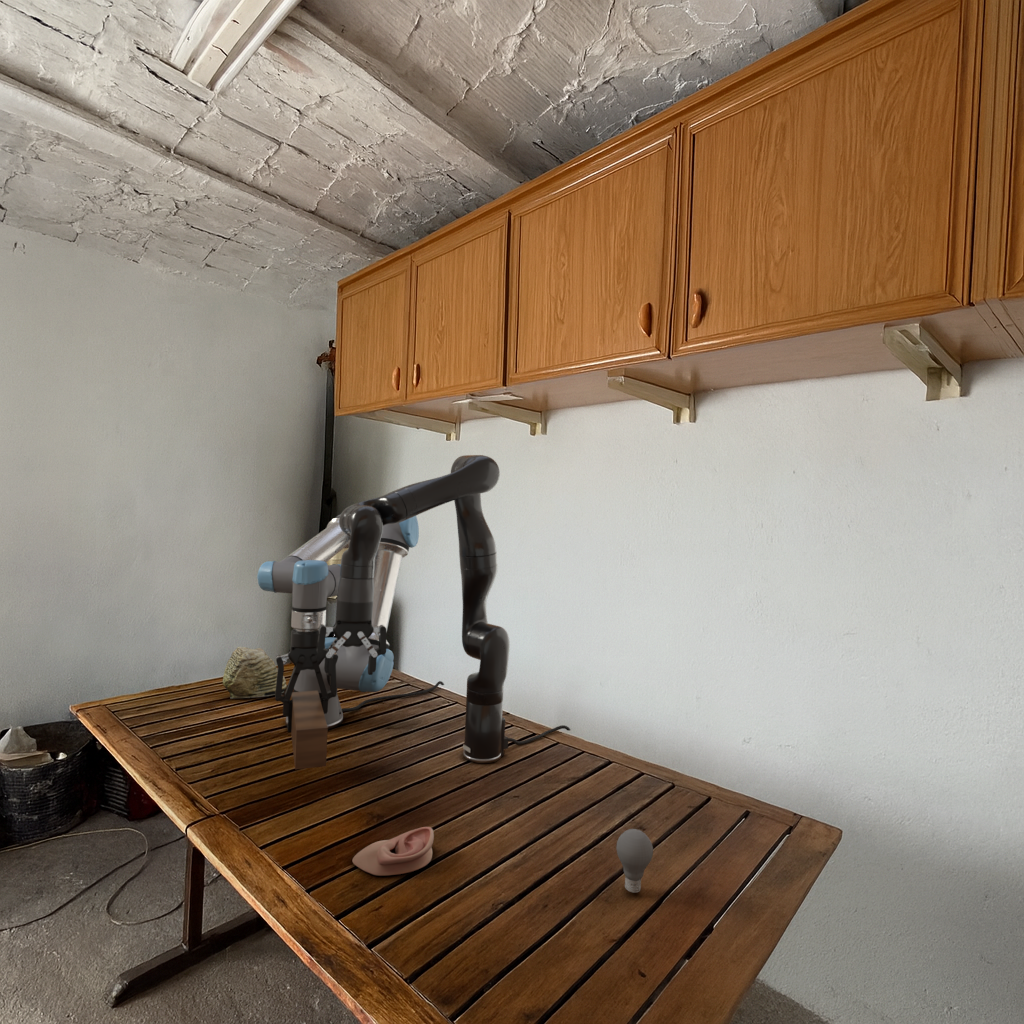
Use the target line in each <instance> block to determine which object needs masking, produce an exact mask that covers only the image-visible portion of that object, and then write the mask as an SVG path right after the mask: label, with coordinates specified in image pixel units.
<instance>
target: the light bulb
mask: <svg viewBox="0 0 1024 1024" xmlns="http://www.w3.org/2000/svg"><path fill="white" fill-rule="evenodd" d="M615 849H616V854H617V857H618V859H619V861H620V863H621V865H622V867H623V873H624V874H623V875H624V876H625V878H624V888H625V890H627V891H628V892H630V893H634V894H635V893H639V892H640V891H641V889H642V887H641V886H642V879H643V877H644V875H645V871H646V868H647V867H648V866H649V864H650V863H651V861H652V859H653V855H654V847H653V843H652V841H651V838H649V836H648V835H647V834H646V833H645V832H643V831H642V830H641V829H636V828H629V829H627V830H625V831H623V832H622V833H621V834H620V835H619V837H618V839H617V841H616V847H615Z"/></svg>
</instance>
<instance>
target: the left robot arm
mask: <svg viewBox="0 0 1024 1024" xmlns="http://www.w3.org/2000/svg"><path fill="white" fill-rule="evenodd" d="M340 515H341V513H340V514H338V515H337V516H335V517H334V518H332V519H331V520H329V521H328V523H327V525H326V527H325V529H323V530H321V531H320V532H319V533H317V534H316V535H314V536H313V537H311V538H310V539H309V540H307V542H305V543H303V544H302V545H301V546H300V547H298V548H296V549H295V550H294V551H293V552H291V553H290V554H288V555H287V556H285V558H283V559H282V560H280V561H276V560H272V561H269V560H267V561H265V562H263V563H262V564H261V565H260V566H259V568H258V571H257V577H256V578H257V584H258V587H259V588H260V589H261V590H262V591H265V592H269V593H270V592H271V593H274V594H277V593H280V594H292V603H291V605H292V606H291V620H290V621H291V622H290V626H291V628H292V629H291V631H290V646H289V650H288V652H287V653H285V654H282V655H281V654H278V655H276V657H275V661H276V666H277V668H278V672H277V681H276V691H275V695H274V699H275V701H276V702H281V703H282V704H283V705H282V716H283V718H285V726H286V728H287V733H291V730H292V700H291V695H292V692H303V691H318V693H319V697H320V700H321V704H322V708H323V712H324V716H325V720H326V724H327V727H328V731H329V730H332V729H335V728H337V727H339V726H340V725H342V723H343V722H344V714H343V712H345V713H346V712H354V711H357V710H359V709H360V708H361V707H362V706H365V705H366V704H369V703H372V702H376V701H383V700H389V699H398V698H407V697H415V696H418V695H422V694H427V693H429V692H432V691H434V690H436V689H437V688H438V687H439V686H440V685H441V686H445V683H444V682H443V681H442V680H439V681H438V682H436V684H435V685H433V686H432V687H430V688H427V689H424V690H420V691H415V692H409V693H400V694H399V693H398V694H392V695H383V696H378V697H377V696H376V697H373V698H368V699H366V700H363V701H361V702H360V703H359V704H358V705H355V706H353V707H346V708H342V706H341V702H340V699H339V695H338V689H339V690H347V691H348V690H349V691H357V692H361V693H377V692H380V691H381V690H382V689H384V687H385V686H386V685H387V684H388V682H389V680H390V677H391V675H392V673H393V670H394V663H395V662H394V660H395V657H394V653H393V651H392V650H390V643H389V642H388V640H387V639H386V653H385V654H382V655H379V656H378V657H377V660H376V670H375V672H373V674H372V675H369V674H368V661H369V656H370V652H369V651H368V650H367V648H366V647H365V645H364V644H363V645H362V646H360V647H355V646H350V647H345V646H343V645H342V646H341V647H340V648H339V649H338V650H337V651H336V652H335V653H334V654H333V656H332V658H333V660H332V674H331V676H328V675H327V673H325V670H324V663H325V657H324V656H322V655H318V654H317V651H316V649H317V642H318V635H319V627H320V625H325V626H327V599H329V598H333V597H337V592H338V585H339V580H340V570H341V563H332V564H328V562H329V561H330V560H332V558H333V557H335V556H336V555H337V554H339V553H340V552H342V550H343V549H348V548H349V543H350V538H351V536H348V535H347V534H345V533H344V532H343V531H342V530H341V528H340V525H339V518H340ZM419 537H420V528H419V522H418V518H417V515H416V516H414V517H412V518H409V519H407V520H405V521H403V522H400V523H396V524H387V525H384V526H383V531H382V536H381V540H380V543H379V547H378V551H377V553H376V556H375V567H374V597H373V611H372V626H373V627H374V626H380V625H384V626H385V628H386V633H387V632H388V627H389V622H390V618H391V612H392V608H393V602H394V598H395V594H396V593H395V592H396V588H397V583H398V579H399V573H400V570H401V564H402V559H404V558H405V557H407V556H408V555H409V550H410V548H412V549H413V548H415V547H416V546H417V544H418V542H419ZM336 638H337V637H334V636H333V637H329V636H328V637H325V644H324V649H326V650H327V649H328V648H329V647H330V646H331V644H332V642H333V641H334V640H335V639H336ZM368 641H369V642H370V644H371V645H372V646H373V648H374V649H377V648H379V636H377V635H376V633H375V632H373V633H372V634H371V636H370V637H369V638H368ZM288 660H290V661H291V663H292V664H293V665H294V666H293V669H292V672H291V675H290V678H289V679H288V683H287V687H286V690H285V691H284V693H282V683H283V676H284V672H285V665H287V663H288Z"/></svg>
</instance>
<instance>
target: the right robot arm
mask: <svg viewBox="0 0 1024 1024" xmlns="http://www.w3.org/2000/svg"><path fill="white" fill-rule="evenodd" d="M500 472H501V471H500V468H499V465H498V463H497V462H496V460H494V459H493V458H492V457H490V456H488V455H483V454H468V455H466V454H465V455H460V456H458V457H457V458H456V459H455V460H453V463H452V465H451V468H450V472H449V473H448V474H445V475H441V476H438V477H434V478H431V479H427V480H426V479H425V480H422V481H419V482H415V483H412V484H408V485H405V486H402V487H399V488H397V489H395V490H393V491H390V492H388V493H385V494H383V495H381V496H377V497H374V498H370V499H366V500H362V501H360V502H356V503H353V504H350V505H349V506H347V507H345V509H343V510H342V512H341V513H340V514H341V515H340V514H339V515H340V518H339V525H340V528H341V530H342V531H343V532H344V533H345V534H347V535H348V536H351V538H350V543H349V548H347V549H345V550H344V551H343V552H342V554H341V559H340V564H341V570H340V580H339V585H338V592H337V596H336V608H335V610H336V611H335V622H334V624H333V626H332V625H331V626H330V625H326V626H325V625H320V627H319V635H318V642H317V649H316V651H317V654H318V655H322V656H324V657H325V663H324V670H325V673H327V675H328V676H331V674H332V660H333V658H332V656H333V654H334V653H335V652H336V651H337V650H338V649H339V648H340V647H341V646H342V645H343V646H345V647H350V646H355V647H360V646H362V645H363V644H364V645H365V647H366V648H367V650H368V651H369V652H370V656H369V661H368V674H369V675H372V674H373V672H375V670H376V660H377V657H378V656H379V655H382V654H385V653H386V640H387V632H386V628H385V626H384V625H380V626H374V627H373V626H372V611H373V597H374V567H375V556H376V553H377V551H378V547H379V543H380V540H381V536H382V531H383V526H384V525H387V524H396V523H400V522H403V521H405V520H407V519H409V518H412V517H414V516H416V517H417V516H419V515H421V514H423V513H426V512H428V511H430V510H432V509H435V508H437V507H440V506H442V505H445V504H447V503H451V502H454V507H455V513H456V514H455V515H456V525H457V538H458V554H459V555H458V556H459V567H460V578H461V597H462V619H461V645H462V647H463V650H464V653H465V654H466V655H467V656H469V657H470V658H473V659H476V660H477V661H479V669H478V671H477V672H476V671H475V672H472V673H470V674H469V675H468V676H467V677H466V678H467V679H466V698H465V716H464V717H465V718H464V719H465V721H464V741H463V742H464V743H463V744H462V749H463V753H462V754H463V755H462V756H463V758H464V759H465V760H466V761H469V762H471V763H476V764H490V763H494V762H498V761H499V760H500V759H501V757H504V756H505V755H504V754H505V750H506V749H509V742H512V743H513V744H514V745H516V746H517V745H518V746H521V745H527V744H529V743H532V742H534V741H537V740H539V739H542V738H543V737H545V736H547V735H549V734H552V733H554V732H556V731H559V730H562V729H564V730H566V731H571V728H570V727H569V726H567V725H558V726H556V727H553V728H550V729H547V730H545V731H543V732H541V733H540V734H538V735H536V736H533V737H531V738H528V739H525V740H516V739H515V738H512V737H508V736H506V718H505V717H504V716H503V712H504V687H505V686H504V685H505V682H506V679H507V676H508V671H509V670H508V669H509V661H510V660H509V659H510V650H511V649H510V645H511V644H510V642H511V641H510V636H509V633H508V631H507V630H506V629H505V628H504V627H503V626H500V625H496V624H492V623H489V622H488V614H487V613H488V612H487V603H488V602H487V601H488V597H489V595H490V592H491V590H492V588H493V586H494V584H495V581H496V579H497V576H498V553H497V544H496V541H495V538H494V535H493V533H492V531H491V529H490V527H489V524H488V523H487V520H486V519H485V516H484V513H483V508H482V498H481V497H482V496H481V494H485V493H488V492H491V491H492V490H493V489H494V488H495V487H496V486H497V485H498V483H499V480H500V475H501V473H500ZM373 632H375V633H376V635H377V636H379V648H377V649H374V648H373V646H372V645H371V644H370V642H369V641H368V638H369V637H370V636H371V634H372V633H373ZM331 633H333V634H334V636H335V638H336V639H335V640H334V641H333V642H332V644H331V646H330V647H329V648H328V649H327V650H326V649H324V644H325V638H328V637H329V636H330V634H331Z"/></svg>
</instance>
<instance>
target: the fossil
mask: <svg viewBox="0 0 1024 1024" xmlns="http://www.w3.org/2000/svg"><path fill="white" fill-rule="evenodd" d="M277 672H278V667H277V664H276V663H275V662H274V660H273V659H272V658H271V657H270V656H269V655H268V654H267V653H266V652H265V650H264V649H263V648H260V647H258V648H251V647H247V646H246V647H245V646H238V647H237V648H236V649H235V650H233V651H232V653H231V656H230V657H229V659H228V660H227V663H226V666H225V668H224V671H223V675H222V676H223V677H222V685H223V687H224V688H225V690H226V691H228V693H229V698H230V699H250V698H264V697H271V696H275V691H276V681H277ZM287 686H288V684H287V680H286V678H285V676H284V675H283V683H282V693H281V694H284V693H285V691H286V689H287Z"/></svg>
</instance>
